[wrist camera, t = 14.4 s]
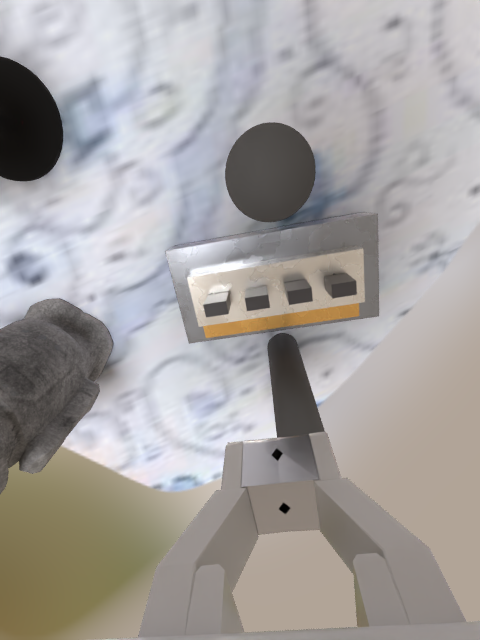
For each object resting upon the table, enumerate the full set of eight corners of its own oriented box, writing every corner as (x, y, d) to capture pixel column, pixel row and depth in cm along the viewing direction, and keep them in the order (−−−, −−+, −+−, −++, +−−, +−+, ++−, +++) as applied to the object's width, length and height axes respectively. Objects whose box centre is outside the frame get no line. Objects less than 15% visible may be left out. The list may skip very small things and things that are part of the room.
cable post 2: (265, 335, 37) (279, 474, 18) (295, 331, 36) (341, 468, 18) (269, 361, 38) (286, 516, 19) (298, 357, 38) (344, 511, 19)
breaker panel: (174, 245, 33) (159, 254, 28) (362, 212, 31) (386, 214, 26) (195, 328, 37) (185, 351, 31) (365, 303, 35) (387, 323, 29)
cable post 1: (239, 172, 30) (217, 133, 12) (275, 165, 30) (310, 113, 11) (245, 210, 32) (234, 229, 13) (280, 204, 31) (319, 213, 13)
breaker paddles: (207, 295, 29) (203, 304, 26) (346, 272, 27) (356, 280, 25) (210, 307, 29) (206, 317, 26) (347, 285, 28) (356, 294, 25)
